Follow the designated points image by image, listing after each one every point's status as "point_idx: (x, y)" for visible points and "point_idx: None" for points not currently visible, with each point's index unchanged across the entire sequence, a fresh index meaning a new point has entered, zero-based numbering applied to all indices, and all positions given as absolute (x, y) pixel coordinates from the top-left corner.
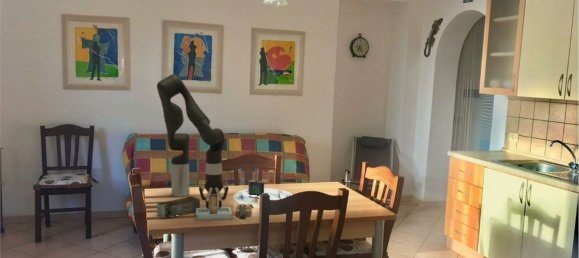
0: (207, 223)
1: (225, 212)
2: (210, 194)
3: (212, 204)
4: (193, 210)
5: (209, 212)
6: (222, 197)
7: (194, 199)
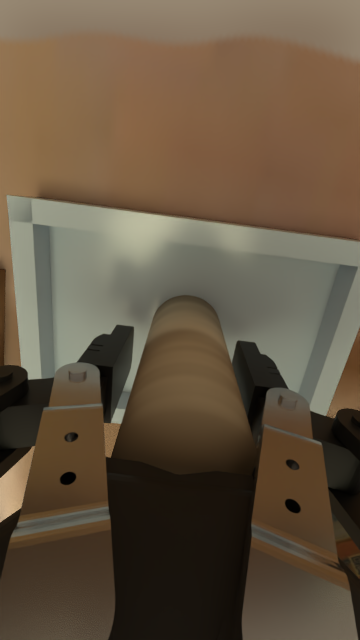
0: (278, 124)
1: (81, 350)
2: (260, 456)
3: (204, 340)
4: None
5: None
6: (30, 404)
7: (345, 549)
